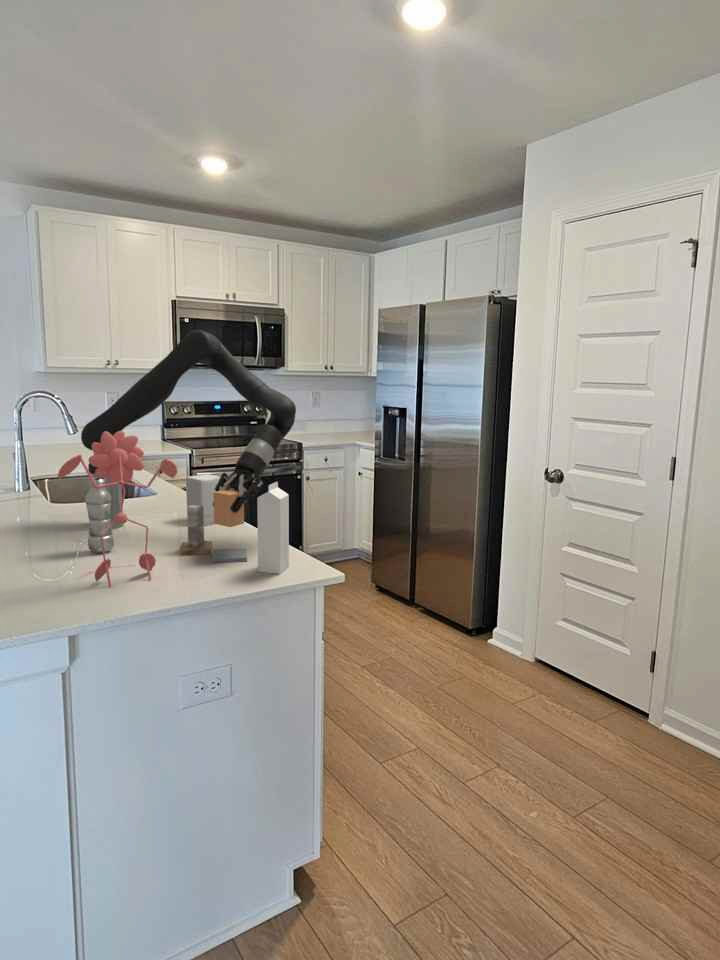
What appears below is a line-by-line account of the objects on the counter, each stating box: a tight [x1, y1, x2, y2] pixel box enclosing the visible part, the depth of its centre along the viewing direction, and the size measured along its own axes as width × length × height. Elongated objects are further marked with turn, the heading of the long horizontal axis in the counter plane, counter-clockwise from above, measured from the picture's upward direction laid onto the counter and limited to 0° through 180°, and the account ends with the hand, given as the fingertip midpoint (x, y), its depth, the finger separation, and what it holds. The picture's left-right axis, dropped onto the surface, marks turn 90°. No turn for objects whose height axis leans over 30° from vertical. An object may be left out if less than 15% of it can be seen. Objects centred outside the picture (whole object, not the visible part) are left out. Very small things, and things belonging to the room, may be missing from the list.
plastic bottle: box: [84, 478, 115, 554], centre depth 166 cm, size 6×7×20 cm
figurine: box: [57, 430, 178, 588], centre depth 146 cm, size 15×26×35 cm, turn 126°
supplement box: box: [185, 473, 221, 526], centre depth 201 cm, size 9×9×15 cm
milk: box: [256, 481, 290, 575], centre depth 154 cm, size 6×6×22 cm
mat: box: [211, 547, 248, 564], centre depth 165 cm, size 9×9×1 cm
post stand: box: [179, 505, 213, 556], centre depth 169 cm, size 11×11×12 cm
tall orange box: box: [213, 489, 245, 528], centre depth 163 cm, size 5×6×8 cm
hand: (224, 509), depth 162 cm, fingers closed on tall orange box, 6 cm apart
